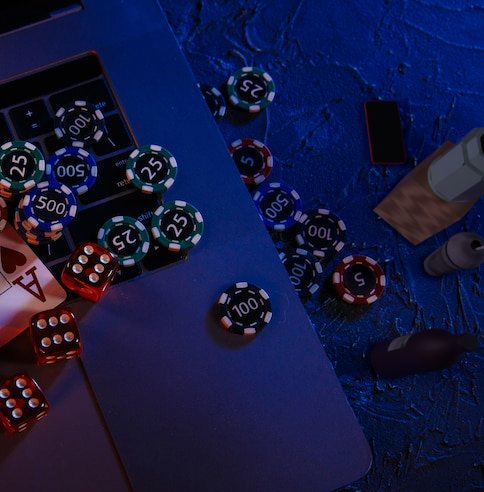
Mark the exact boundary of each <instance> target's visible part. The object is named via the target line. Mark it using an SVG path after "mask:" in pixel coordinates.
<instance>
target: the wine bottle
mask: <svg viewBox="0 0 484 492" xmlns="http://www.w3.org/2000/svg"><path fill="white" fill-rule="evenodd" d="M478 345H479V341H478V338H477V337H476V336H475V335H474V334H472V333H471V332H463V333H459V334H458V335H455V334H454V333H452V332H451V331H449V330H447V329H444V328H437V327H431V328H426V329H423V330H419V331H416V332H412V333H408V334H405V335H402V336H398V337H395V338H391V339H388V340H385V341H381V342H379V343H377V344H376V345H375V346H374V347H373V348H372V350H371V352H370V358H369V359H370V364H371V367H372V368H373V370H374V371H375V372H376V373H377V374H378V375H380V376H382V377H385V378H387V379H388V378H389V379H393V378H402V377H408V376H414V375H420V374H428V373H433V372H440V371H443V370H448V369H449V368H451V367H453V366H454V365H456V364H457V363H458V361H459V360H460V358H461V356H462V353H465V354H466V353H471V352H474V351H475V350H477V348H478Z"/></svg>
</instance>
